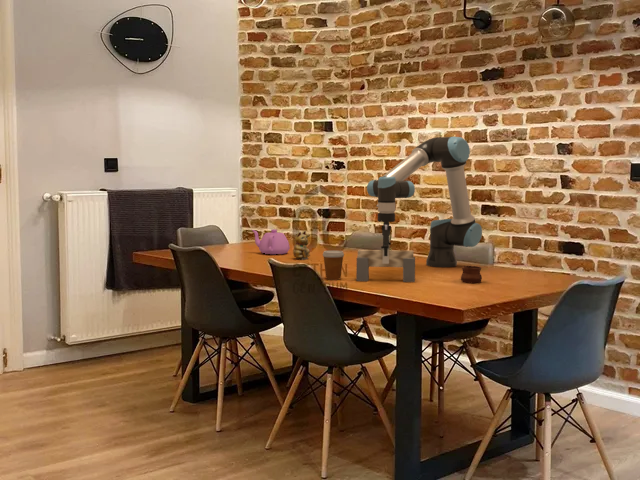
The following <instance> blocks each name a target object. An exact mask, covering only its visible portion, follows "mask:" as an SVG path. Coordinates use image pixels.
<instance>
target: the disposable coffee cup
mask: <svg viewBox="0 0 640 480" xmlns="http://www.w3.org/2000/svg"><path fill="white" fill-rule="evenodd" d="M344 256H345V254H344V251H343V250H333V249H332V250H324V251H323V253H322V257H323V261H324V262H323V263H324V271H325V279H326V280H330V281H332V280H336V281H337V280H341V276H342V269H343V261H344Z"/></svg>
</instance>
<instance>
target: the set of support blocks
mask: <svg viewBox="0 0 640 480" xmlns="http://www.w3.org/2000/svg"><path fill="white" fill-rule="evenodd" d="M369 270H370V268H369V267H368V258H358V255H357V257H356V275H355V276H356V279H355V280H356V282H369V278H370V271H369ZM415 280H416V257H415V256H413V258H403V267H402V282H403V283H416V281H415Z"/></svg>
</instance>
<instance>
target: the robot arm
mask: <svg viewBox="0 0 640 480" xmlns="http://www.w3.org/2000/svg"><path fill="white" fill-rule="evenodd" d="M470 153H471V148H470V146H469V143H468V142H467V140H466V139H465V138H464V137H461V136H443V137H442V136H441V137H440V136H439V137H431V138H429V139H427V140H425V141H424V142H422V143H420V144H419V145H417V146H416V147H415V148H413V149H412V151H411V153H410V154H409V155H408V156H407V157H406V158H404V159H403V160H402V161H401V162H399V163H397V164H396V165H395V166H394V167H393V168H391V169H390V170H388V171H387V173H385V174H384V175H382V176H380V177H379V178H378V179H374V180H373V179H372V180H370V181H369V182H368V183H367V185H366V192H367V193H368V195H369V196H370V197H374V198H375V197H376V198H377V204H376V207H377V222H380V223H383V225H381V235H382V245H381V246H380V248H381V249H382V250H383V259H382V264H389V250H390V245H391V244H392V243H391V242H390V236H391V229H392V226H391V225H390V223H394V222H395V221H396V213H395V212H396V199H407V198H411V197H413V196H414V194H415V191H416V186H415V184H414V183H413V182H412V181H411V180H406V179H408V178H409V177H410V176H411V175H412V174H414V173H415V172H416V171H417V170H418V169H420V168H421V167H425V166H427V165H428V164H430V163H440V165H441V169H443V170H444V171H445V174H446V175H445V176H446V182H447V188H448V189H447V190H448V194H449V200H450V206H451V207H450V208H451V211H452V212H451V213H452V218H445V219H434V220H431V222H430V228H429V234H430V235H429V246H430V247H429V252H428V255H427V257H426V261H425V262H426V263H425V265H426V266H428V267H436V268H451V267H453V268H454V267H457V266H458V260H457V257H456V254H455V251H454V249H455V248H454V247H455V246H456V247H463V248H473V247H476V246H477V245H478V244H479V243H480V241H481V239H482V236H483V229H482V228H483V227H482V226H481V224H480V223H478V222H477V221H476V217H475V216H473V215H472V212H471V205H470V198H469V193H468V187H467V179H466V173H465V166H466V165H467V161H468V160H469V158H470Z"/></svg>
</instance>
